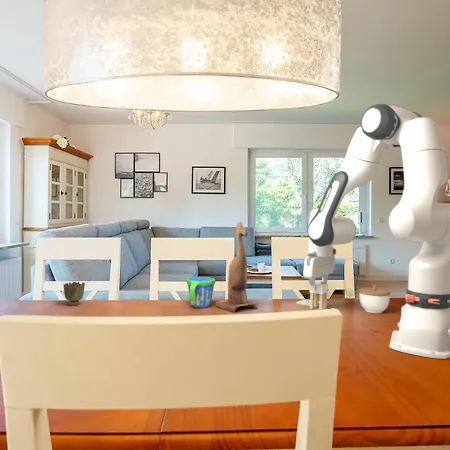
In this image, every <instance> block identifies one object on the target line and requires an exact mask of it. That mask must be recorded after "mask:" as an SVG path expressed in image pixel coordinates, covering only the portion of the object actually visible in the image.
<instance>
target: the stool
mask: <svg viewBox="0 0 450 450" xmlns="http://www.w3.org/2000/svg"><path fill="white" fill-rule="evenodd" d="M315 285H316V290H310V289H309V300H310V306H309V309H310V310H314V308H318V310H319V309H324V310H327V307H328V303H327V302H328V291H329V284H328V283H327V284H321V282H320V283H319V282H315ZM318 299H319V304H318Z"/></svg>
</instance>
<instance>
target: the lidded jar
mask: <svg viewBox="0 0 450 450" xmlns="http://www.w3.org/2000/svg"><path fill="white" fill-rule="evenodd" d="M358 292H359V294H358V295H359V296H358V299H359V303H360V306H361V307H362V308H363V309H364V311H365V312H367V313H370V314H383V312H384V311H385V310H386V309H387V308H388V307H389V304H390V299H391V298H390V297H391V290H388V289H385V288H381V287H377V285H373V286H372V287H361V288H359V289H358Z"/></svg>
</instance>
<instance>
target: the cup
mask: <svg viewBox="0 0 450 450" xmlns="http://www.w3.org/2000/svg"><path fill="white" fill-rule="evenodd" d="M85 286H86V282H84V281H82V283H80V281H77V282H76V281H73V282H71V281H70V282H64V284H63V292H64V293H63V294H64V297H65V299H66V300H67V301H68V305H69V306H71V307H72V306H73V307H74V306H78V305H79V304H80V301H81V300H82V299H83V297H84V293H85Z"/></svg>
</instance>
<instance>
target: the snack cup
mask: <svg viewBox="0 0 450 450" xmlns="http://www.w3.org/2000/svg"><path fill="white" fill-rule="evenodd" d="M185 282H186V284H187V286H188V287H187V289H188V299H189V304H190V307H193V308H195V309H196V308H198V309H199V308H201V309H204V308H208V307H210V306H211V305H212V298H213V293H214V287H215V284H216V279H215V278H213V277H210V276H191V277H188V278H186V281H185Z"/></svg>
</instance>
